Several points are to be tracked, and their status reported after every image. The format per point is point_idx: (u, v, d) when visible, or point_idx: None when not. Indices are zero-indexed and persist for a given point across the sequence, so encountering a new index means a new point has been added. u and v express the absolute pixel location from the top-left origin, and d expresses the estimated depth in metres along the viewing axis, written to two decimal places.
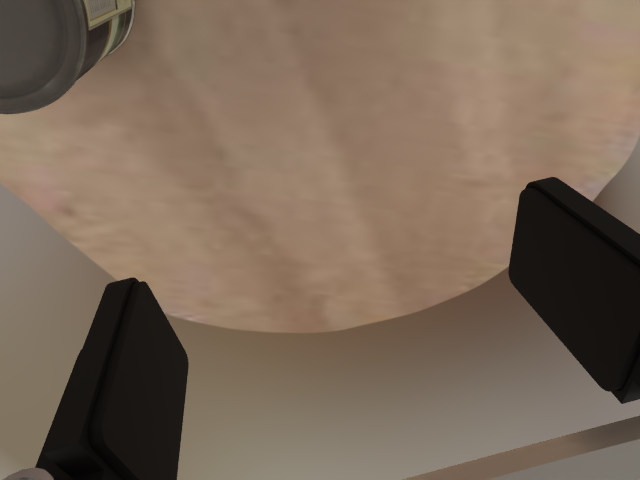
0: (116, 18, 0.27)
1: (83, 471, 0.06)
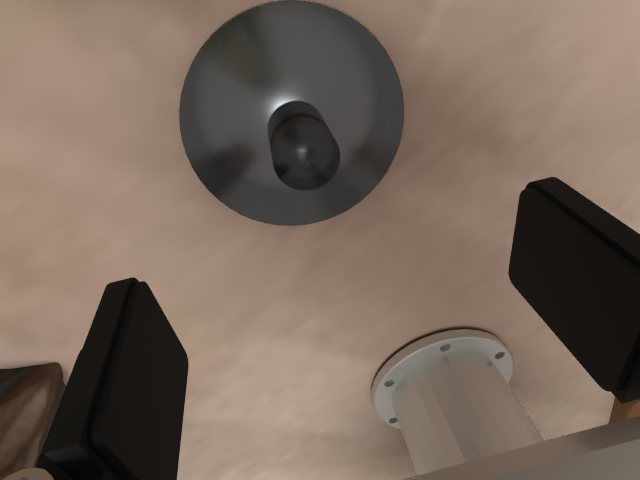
0: None
1: (83, 471, 0.06)
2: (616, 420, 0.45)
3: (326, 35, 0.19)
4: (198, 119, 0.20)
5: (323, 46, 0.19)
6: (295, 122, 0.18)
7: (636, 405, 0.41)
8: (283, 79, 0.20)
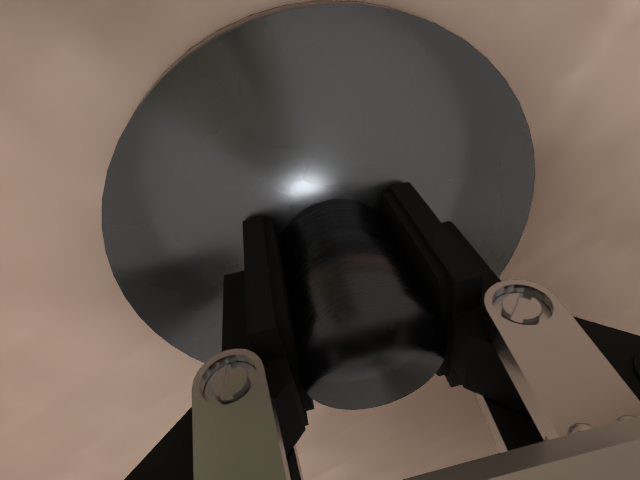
0: None
1: (270, 356, 0.07)
2: None
3: (407, 76, 0.09)
4: (143, 239, 0.10)
5: (398, 99, 0.09)
6: (350, 285, 0.08)
7: None
8: (314, 162, 0.10)
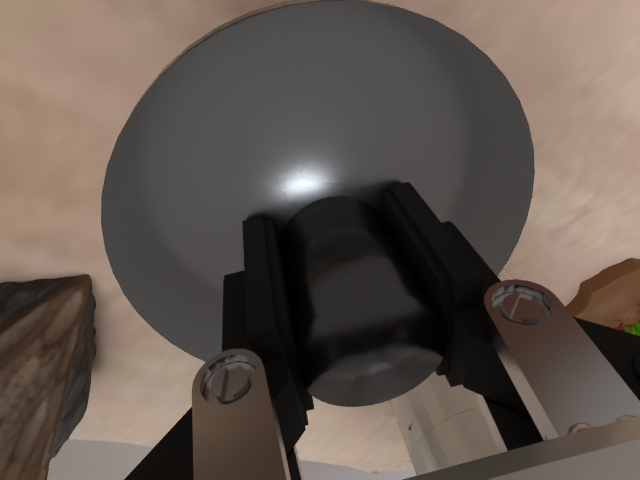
0: None
1: (270, 356, 0.07)
2: None
3: (406, 73, 0.09)
4: (142, 237, 0.10)
5: (398, 95, 0.09)
6: (350, 282, 0.08)
7: None
8: (313, 159, 0.10)
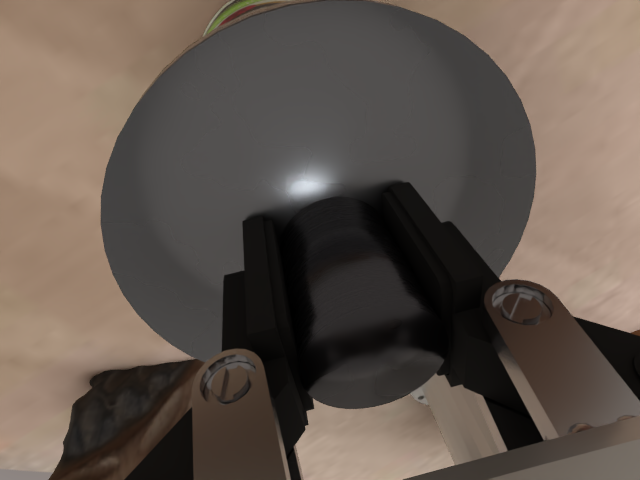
0: None
1: (270, 356, 0.07)
2: None
3: (408, 73, 0.09)
4: (142, 238, 0.10)
5: (399, 96, 0.09)
6: (350, 284, 0.08)
7: None
8: (314, 160, 0.10)
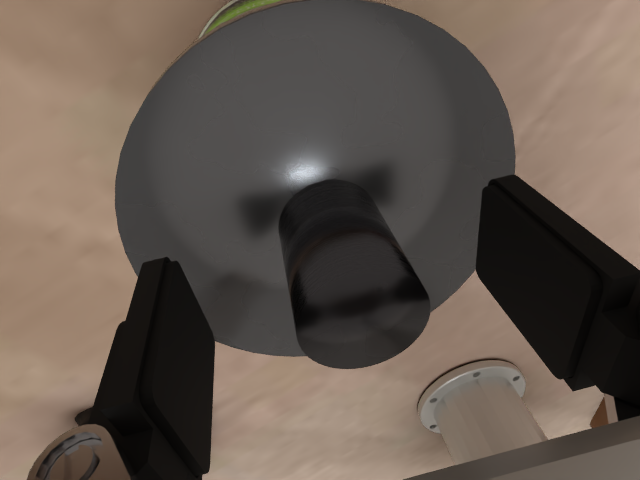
0: None
1: (134, 429, 0.07)
2: (604, 410, 0.54)
3: (392, 65, 0.10)
4: (152, 218, 0.11)
5: (386, 85, 0.10)
6: (341, 252, 0.09)
7: None
8: (308, 145, 0.11)
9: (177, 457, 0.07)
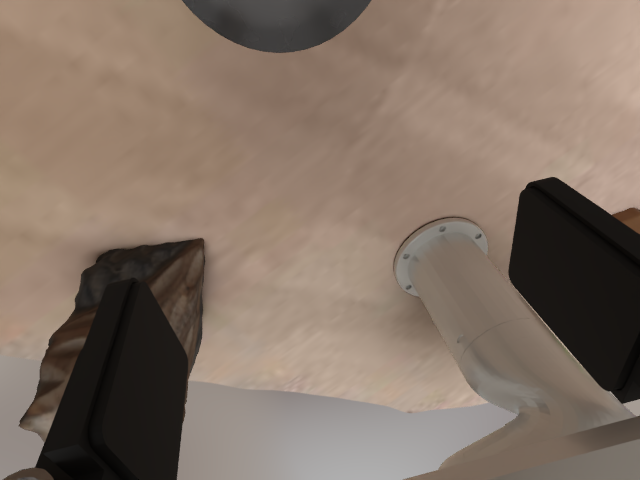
0: None
1: (83, 471, 0.06)
2: None
3: None
4: None
5: None
6: None
7: None
8: None
9: None
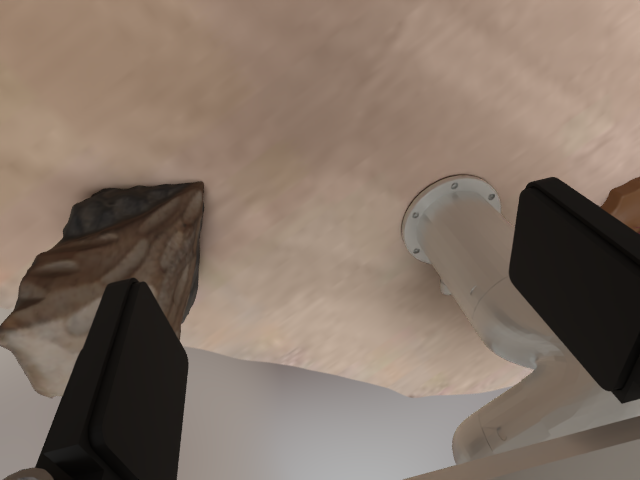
0: None
1: (83, 471, 0.06)
2: None
3: None
4: None
5: None
6: None
7: None
8: None
9: None
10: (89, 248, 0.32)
